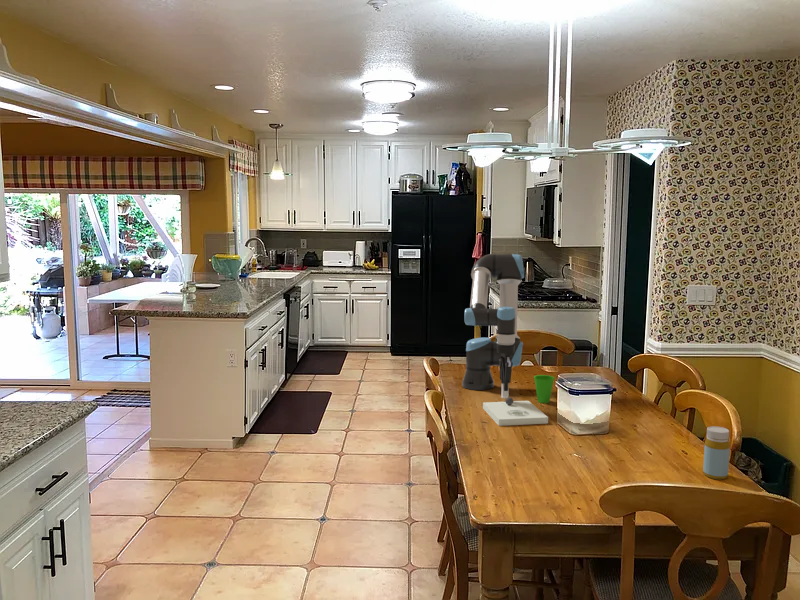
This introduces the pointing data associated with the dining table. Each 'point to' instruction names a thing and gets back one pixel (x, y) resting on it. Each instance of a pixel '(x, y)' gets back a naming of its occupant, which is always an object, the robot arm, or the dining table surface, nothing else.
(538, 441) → the dining table surface
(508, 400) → the ball
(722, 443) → the bottle
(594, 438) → the dining table surface
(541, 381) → the cup
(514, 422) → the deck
